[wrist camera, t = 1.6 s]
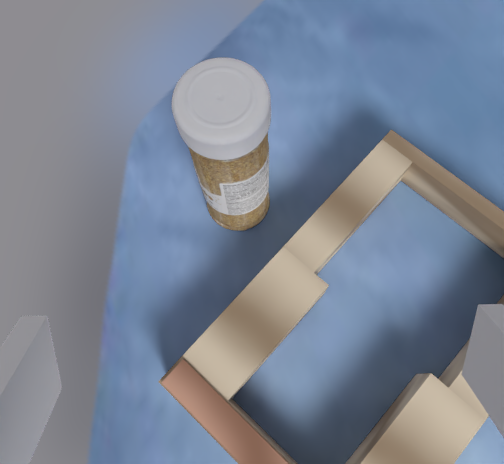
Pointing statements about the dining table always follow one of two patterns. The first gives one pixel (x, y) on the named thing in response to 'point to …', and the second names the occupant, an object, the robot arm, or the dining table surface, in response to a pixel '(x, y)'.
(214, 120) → the sprinkles bottle
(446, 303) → the dining table surface
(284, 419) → the dining table surface
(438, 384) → the light wood rectangular frame
